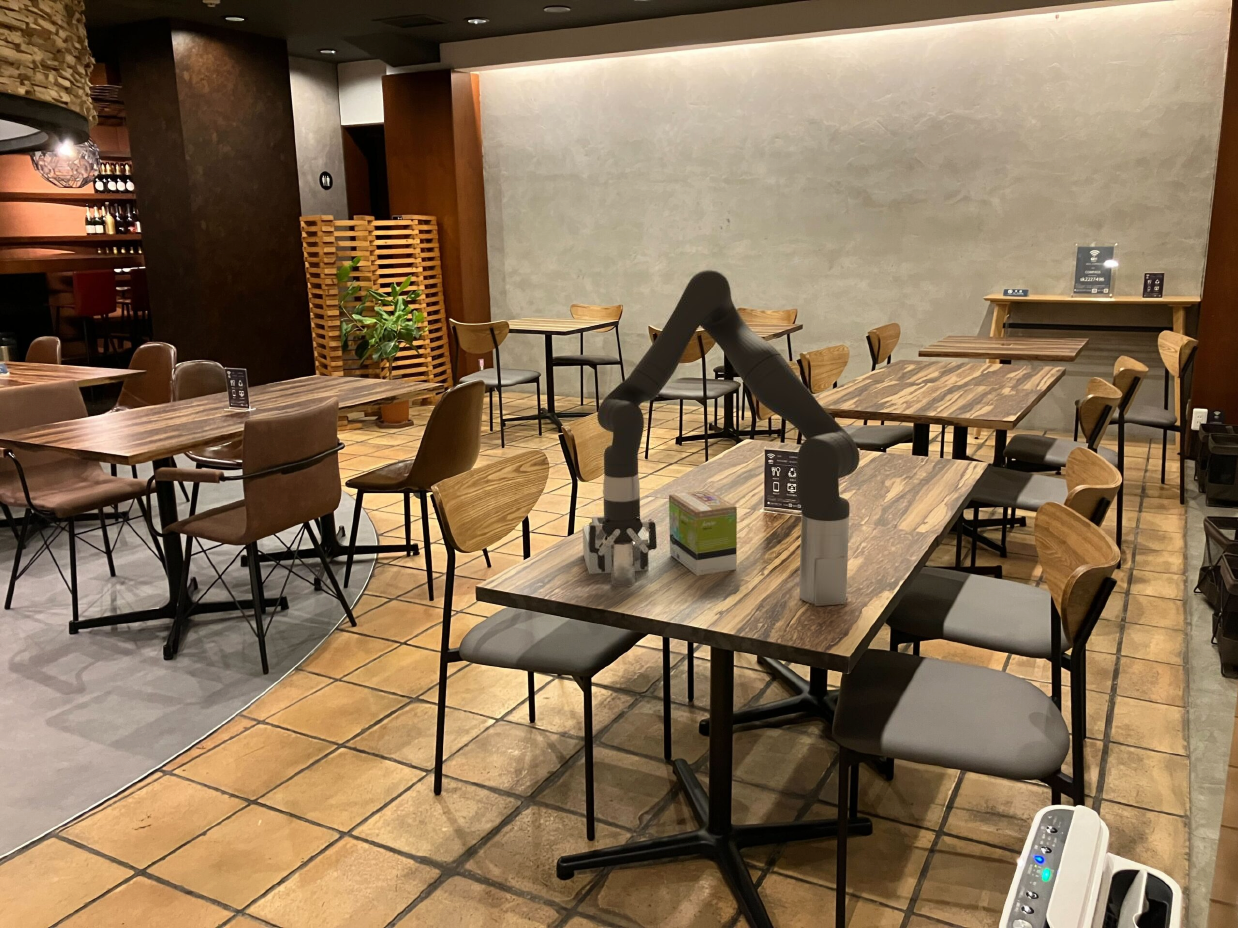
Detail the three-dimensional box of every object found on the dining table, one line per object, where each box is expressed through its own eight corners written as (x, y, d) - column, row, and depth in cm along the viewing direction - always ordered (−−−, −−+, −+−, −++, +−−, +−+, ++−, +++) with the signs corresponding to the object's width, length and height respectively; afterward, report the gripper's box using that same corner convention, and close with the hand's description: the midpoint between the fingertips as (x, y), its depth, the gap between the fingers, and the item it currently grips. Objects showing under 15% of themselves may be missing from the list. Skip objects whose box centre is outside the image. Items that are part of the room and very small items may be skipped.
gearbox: (649, 571, 211) (648, 529, 209) (589, 575, 210) (588, 532, 207) (639, 551, 225) (638, 511, 222) (583, 554, 223) (582, 514, 221)
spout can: (636, 585, 203) (635, 539, 200) (613, 587, 202) (611, 540, 200) (633, 577, 208) (632, 531, 205) (609, 578, 207) (608, 533, 205)
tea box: (668, 555, 221) (667, 493, 218) (708, 550, 225) (708, 488, 221) (696, 576, 207) (696, 510, 204) (738, 570, 211) (738, 504, 207)
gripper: (589, 501, 196) (591, 577, 200) (658, 498, 198) (659, 573, 202) (585, 492, 203) (587, 565, 207) (652, 488, 205) (653, 561, 209)
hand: (622, 569), depth 204 cm, fingers open, 8 cm apart
